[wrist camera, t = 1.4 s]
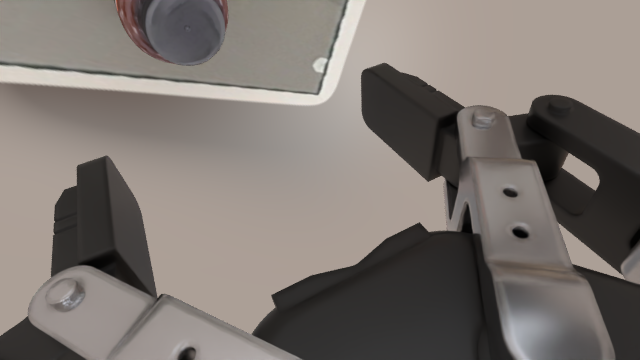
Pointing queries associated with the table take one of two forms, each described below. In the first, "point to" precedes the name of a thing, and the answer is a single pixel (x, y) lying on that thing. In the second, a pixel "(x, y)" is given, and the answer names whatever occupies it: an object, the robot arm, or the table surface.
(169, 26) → the supplement bottle
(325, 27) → the table surface
